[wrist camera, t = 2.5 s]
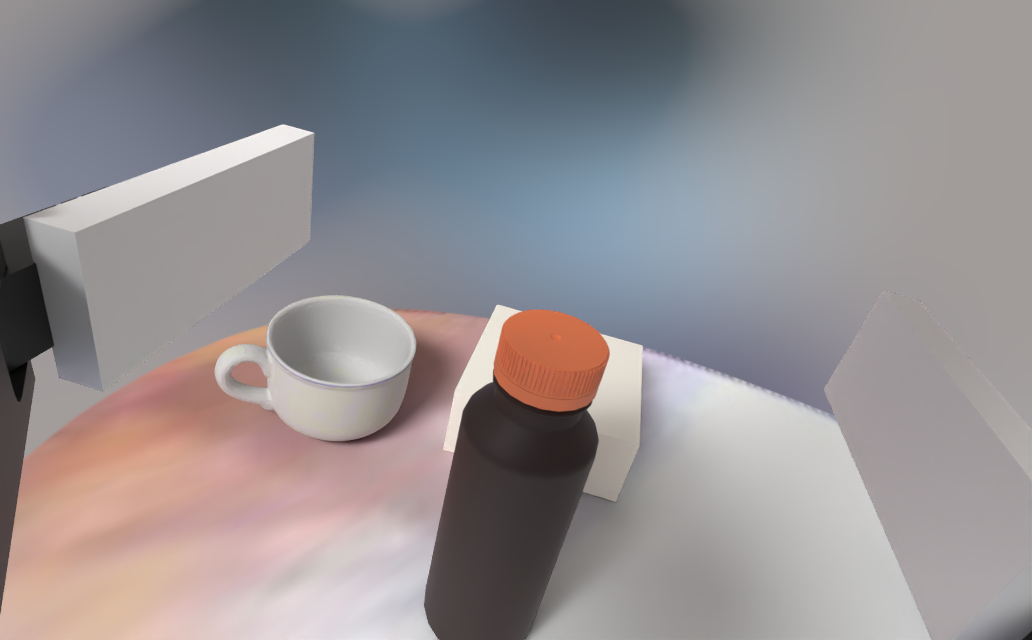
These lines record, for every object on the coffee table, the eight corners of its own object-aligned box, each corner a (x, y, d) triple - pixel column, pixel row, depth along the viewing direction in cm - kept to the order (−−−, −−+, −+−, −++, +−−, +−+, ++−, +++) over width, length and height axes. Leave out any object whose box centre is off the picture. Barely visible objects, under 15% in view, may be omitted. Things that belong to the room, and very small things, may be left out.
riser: (623, 395, 58) (642, 345, 55) (615, 502, 46) (639, 445, 43) (485, 356, 59) (497, 304, 56) (443, 449, 47) (454, 390, 44)
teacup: (394, 370, 54) (404, 295, 50) (417, 457, 46) (430, 375, 42) (224, 376, 49) (219, 292, 45) (214, 475, 41) (207, 383, 37)
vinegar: (400, 623, 35) (451, 341, 24) (457, 541, 40) (519, 283, 30) (504, 686, 33) (606, 410, 23) (549, 590, 38) (647, 334, 28)
